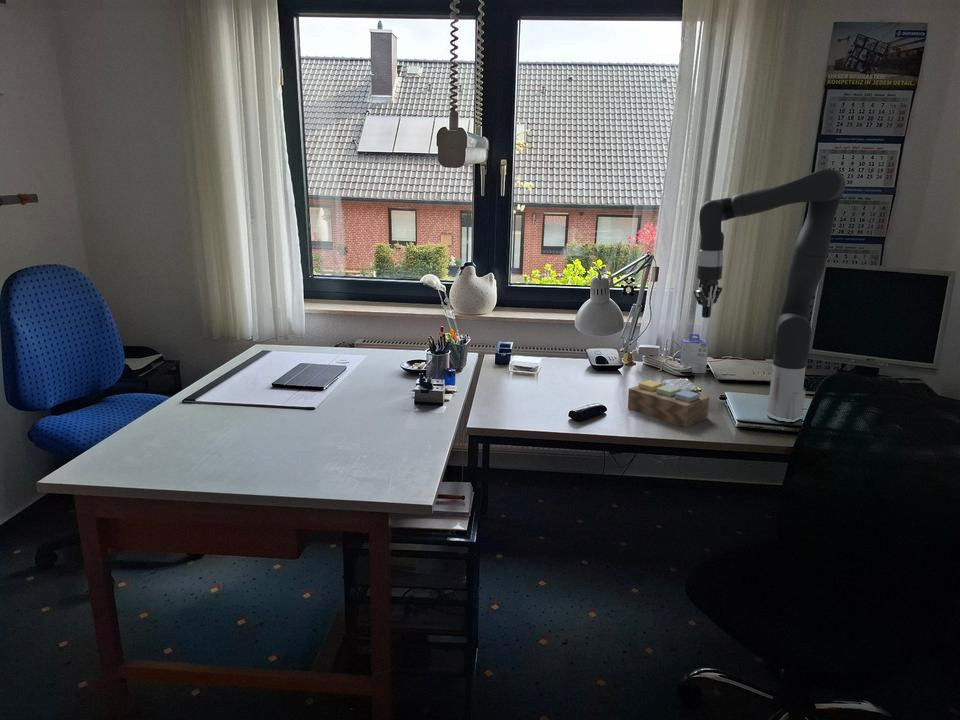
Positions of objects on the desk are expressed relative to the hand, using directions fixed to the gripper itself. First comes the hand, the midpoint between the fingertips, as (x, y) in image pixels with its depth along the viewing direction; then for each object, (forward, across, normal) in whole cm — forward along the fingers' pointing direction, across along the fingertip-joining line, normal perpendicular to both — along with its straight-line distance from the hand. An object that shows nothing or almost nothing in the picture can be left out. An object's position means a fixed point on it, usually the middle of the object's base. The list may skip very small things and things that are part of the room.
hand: (706, 317), depth 216 cm
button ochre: (+28, -18, +7) cm, 34 cm away
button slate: (+27, -18, -7) cm, 34 cm away
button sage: (+28, -18, 0) cm, 33 cm away
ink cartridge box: (+29, +28, +22) cm, 46 cm away
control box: (+29, -18, 0) cm, 34 cm away
